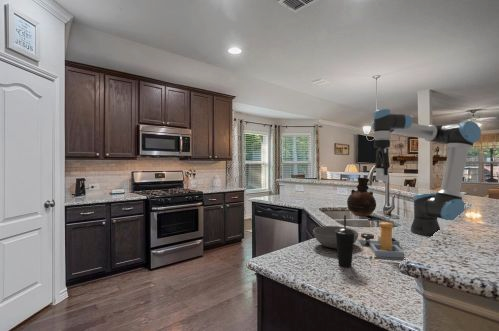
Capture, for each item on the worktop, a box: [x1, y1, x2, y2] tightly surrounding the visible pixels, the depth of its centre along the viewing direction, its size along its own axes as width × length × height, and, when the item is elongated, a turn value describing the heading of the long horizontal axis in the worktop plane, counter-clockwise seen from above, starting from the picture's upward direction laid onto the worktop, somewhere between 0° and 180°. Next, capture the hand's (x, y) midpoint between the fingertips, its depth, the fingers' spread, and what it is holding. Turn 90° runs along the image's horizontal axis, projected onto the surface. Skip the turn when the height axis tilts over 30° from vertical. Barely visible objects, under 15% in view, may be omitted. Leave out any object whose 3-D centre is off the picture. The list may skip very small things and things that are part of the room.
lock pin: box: [378, 221, 394, 251], centre depth 123 cm, size 6×6×14 cm
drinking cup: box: [335, 215, 356, 268], centre depth 112 cm, size 8×8×20 cm
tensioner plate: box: [357, 232, 404, 250], centre depth 136 cm, size 18×12×6 cm, turn 77°
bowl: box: [312, 225, 359, 250], centre depth 137 cm, size 21×21×8 cm
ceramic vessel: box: [346, 177, 377, 217], centre depth 218 cm, size 21×18×30 cm
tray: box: [369, 243, 405, 262], centre depth 123 cm, size 11×11×4 cm
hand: (381, 181), depth 144 cm, fingers open, 13 cm apart
